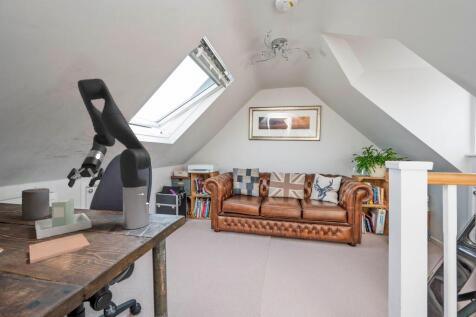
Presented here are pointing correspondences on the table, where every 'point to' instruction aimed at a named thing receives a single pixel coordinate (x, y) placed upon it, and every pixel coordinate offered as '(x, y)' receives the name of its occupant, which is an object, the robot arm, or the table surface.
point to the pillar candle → (35, 203)
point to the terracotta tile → (57, 247)
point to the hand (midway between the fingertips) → (80, 186)
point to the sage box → (62, 212)
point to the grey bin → (46, 228)
